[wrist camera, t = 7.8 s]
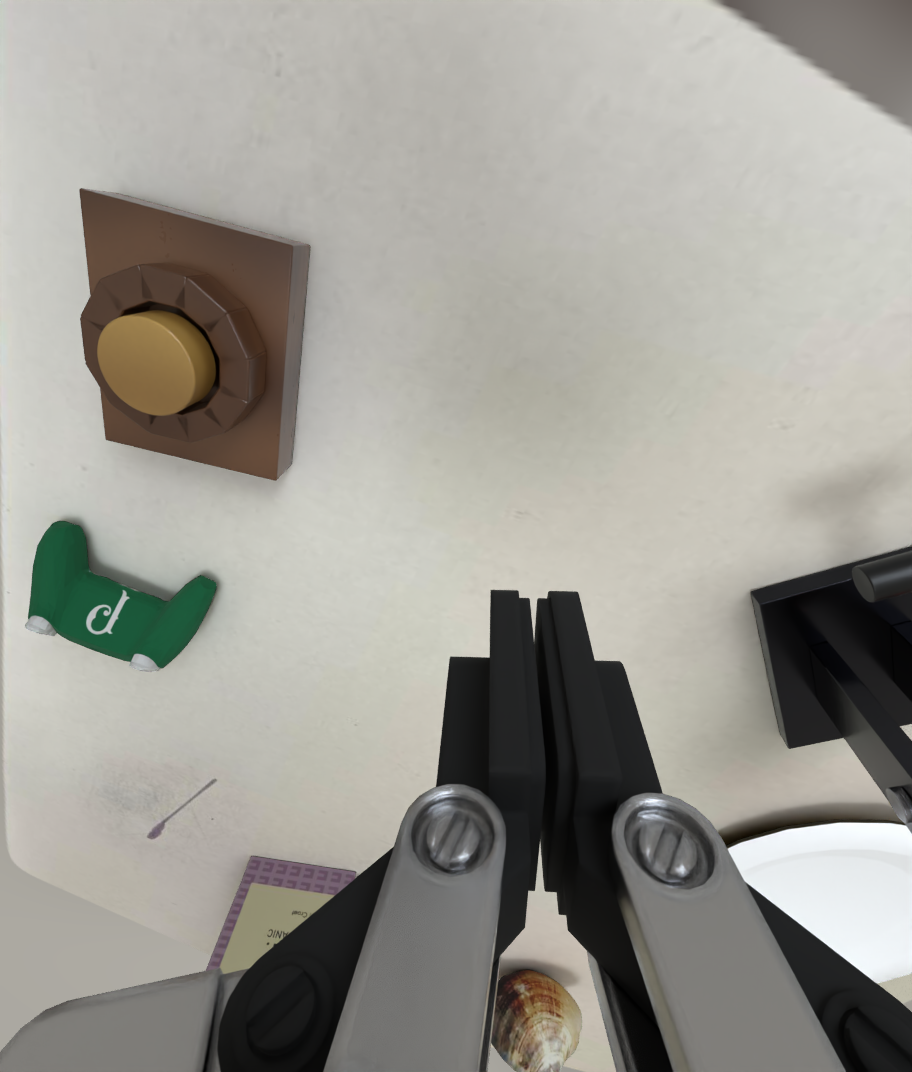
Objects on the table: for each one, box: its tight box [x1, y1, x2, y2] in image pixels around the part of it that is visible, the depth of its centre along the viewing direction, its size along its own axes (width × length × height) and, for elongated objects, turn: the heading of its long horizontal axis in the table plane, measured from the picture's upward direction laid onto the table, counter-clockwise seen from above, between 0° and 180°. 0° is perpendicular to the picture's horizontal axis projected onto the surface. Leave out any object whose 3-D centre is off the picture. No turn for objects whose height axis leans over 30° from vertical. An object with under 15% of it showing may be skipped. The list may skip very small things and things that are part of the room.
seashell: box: [491, 970, 582, 1072], centre depth 48 cm, size 10×6×8 cm, turn 80°
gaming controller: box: [25, 521, 217, 672], centre depth 29 cm, size 9×4×6 cm
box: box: [206, 856, 356, 974], centre depth 40 cm, size 17×9×20 cm, turn 171°
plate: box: [726, 820, 912, 983], centre depth 42 cm, size 25×25×2 cm
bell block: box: [80, 188, 310, 481], centre depth 22 cm, size 10×8×4 cm
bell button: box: [97, 310, 216, 416], centre depth 20 cm, size 4×4×2 cm
